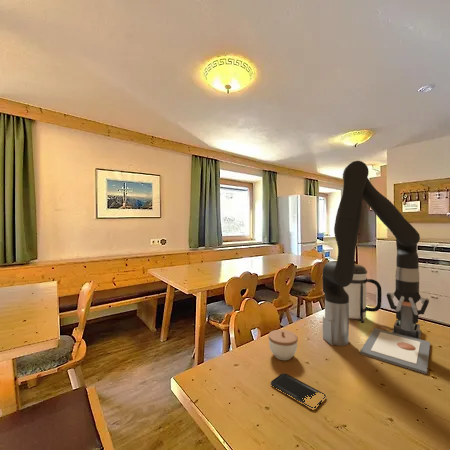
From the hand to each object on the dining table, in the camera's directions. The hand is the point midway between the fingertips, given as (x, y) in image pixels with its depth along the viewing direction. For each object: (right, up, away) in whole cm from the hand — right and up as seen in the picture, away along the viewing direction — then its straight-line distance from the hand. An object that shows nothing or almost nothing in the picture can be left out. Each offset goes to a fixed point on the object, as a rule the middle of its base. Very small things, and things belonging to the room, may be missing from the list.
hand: (406, 321), depth 100 cm
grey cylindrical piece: (0, -3, 0) cm, 3 cm away
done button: (+10, -8, +15) cm, 20 cm away
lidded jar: (-50, -12, -4) cm, 51 cm away
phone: (-50, -13, -23) cm, 56 cm away
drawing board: (-4, -11, +1) cm, 12 cm away
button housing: (+10, -10, +15) cm, 21 cm away
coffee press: (-4, -10, +31) cm, 33 cm away
